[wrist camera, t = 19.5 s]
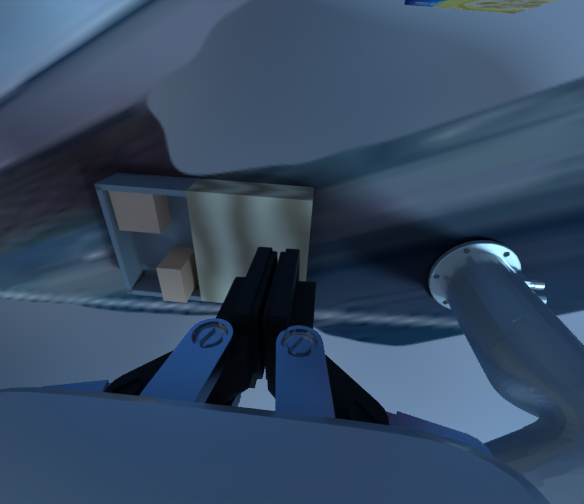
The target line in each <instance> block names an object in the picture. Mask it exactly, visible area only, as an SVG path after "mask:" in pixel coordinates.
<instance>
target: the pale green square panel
mask: <svg viewBox="0 0 584 504" xmlns="http://www.w3.org/2000/svg"><path fill="white" fill-rule="evenodd" d="M313 194H314V187H306V186H293V185H279V184H266V183H253V182H239V181H226V180H213V179H199V180H197V181H196V182H195V183H194V184H193V185H192V186H191V187H189V188H188V189H187V190H186V197H187V204H188V211H189V218H190V225H191V232H192V239H193V245H194V252H195V259H196V266H197V273H198V280H199V287H200V294H201V301H209V302H219V303H223V302H224V300H225V298H226V296H227V294H228V292H229V289H230V287H231V285H232V283H233V281H234V279H235V277H246V275H247V272H248V270H249V268H250V265H251V263H252V260H253V258H254V256H255V253H256V251H257V249H258V247H272V249H273V251H277V257H278V259H279V256H280V252H285V251H286V248H288V249H300V270H299V281H306V275H307V263H308V252H309V240H310V229H311V217H312V205H313Z"/></svg>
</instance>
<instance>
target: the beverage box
mask: <svg viewBox="0 0 584 504" xmlns="http://www.w3.org/2000/svg"><path fill="white" fill-rule="evenodd" d="M555 1H558V0H405V5H415V6H427V7H440V8H453V9H465V10H477V11H490V12H503V13H516V12H520V11H523V10H526V9H530V8H534V7H537V6H540V5H544V4H548V3H551V2H555Z"/></svg>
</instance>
